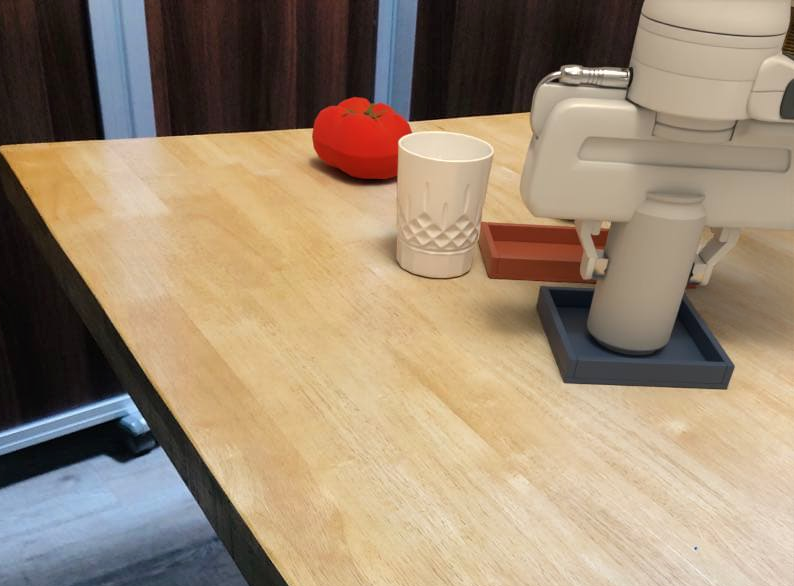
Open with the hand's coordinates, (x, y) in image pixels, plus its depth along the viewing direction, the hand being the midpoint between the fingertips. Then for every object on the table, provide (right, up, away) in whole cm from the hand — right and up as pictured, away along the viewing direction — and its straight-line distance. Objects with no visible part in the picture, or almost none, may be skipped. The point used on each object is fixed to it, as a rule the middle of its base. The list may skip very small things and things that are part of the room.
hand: (642, 279), depth 64 cm
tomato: (-22, +21, +31) cm, 43 cm away
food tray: (-1, +6, +15) cm, 16 cm away
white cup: (-15, +5, +13) cm, 21 cm away
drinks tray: (0, -4, +3) cm, 5 cm away
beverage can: (0, -4, +3) cm, 5 cm away
